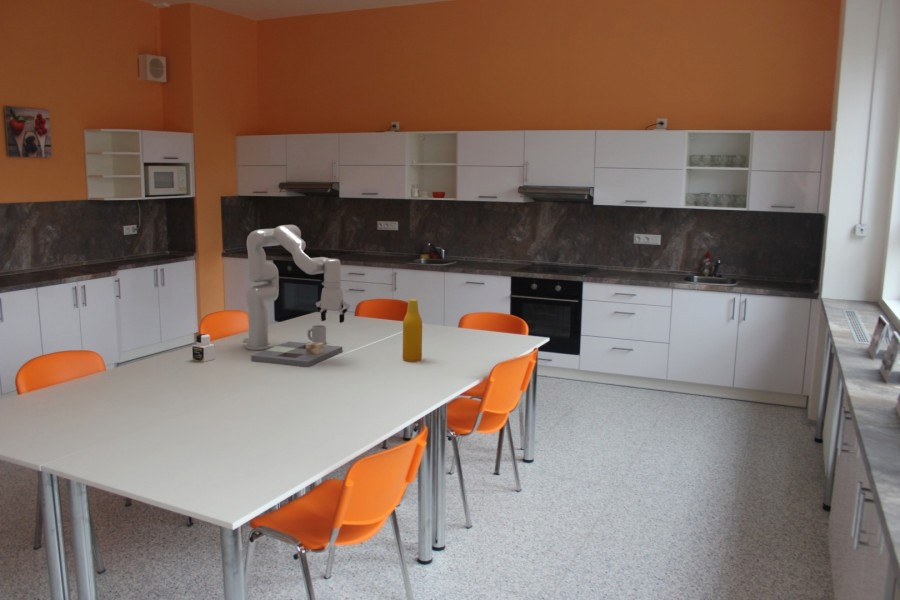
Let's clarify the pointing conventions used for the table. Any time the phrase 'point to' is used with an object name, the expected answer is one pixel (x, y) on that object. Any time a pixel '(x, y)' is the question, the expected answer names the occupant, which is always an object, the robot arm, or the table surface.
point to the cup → (317, 334)
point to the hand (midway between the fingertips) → (332, 321)
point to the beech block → (314, 348)
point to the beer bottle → (412, 333)
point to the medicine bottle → (203, 349)
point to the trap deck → (295, 354)
